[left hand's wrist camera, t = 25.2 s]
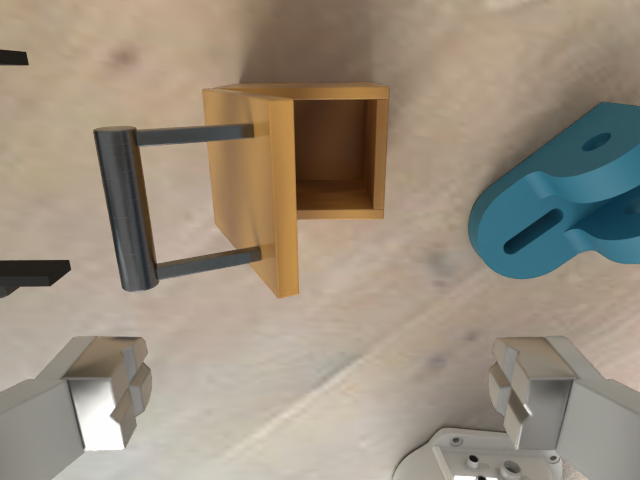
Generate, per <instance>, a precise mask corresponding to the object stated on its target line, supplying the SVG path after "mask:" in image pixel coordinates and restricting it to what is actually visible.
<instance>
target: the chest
mask: <svg viewBox="0 0 640 480" xmlns="http://www.w3.org/2000/svg"><path fill="white" fill-rule="evenodd" d="M217 88H218V89H226V90H233V91H240V92H248V93H255V94H262V95H269V96H277V97H284V98H291V99H293V101H294V136H295V171H296V207H297V220H329V219H383V218H384V196H385V174H386V151H387V128H388V106H389V87H388V86H384V85H381V84H377V83H373V82H333V83H238V84H233V85H228V86H222V87H217ZM217 88H213V89H217Z"/></svg>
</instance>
